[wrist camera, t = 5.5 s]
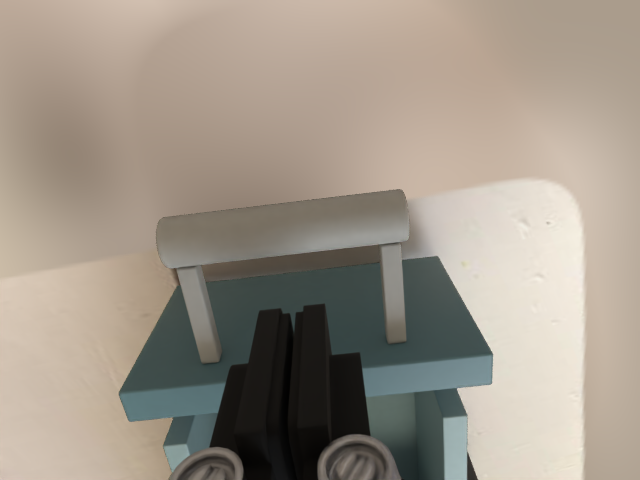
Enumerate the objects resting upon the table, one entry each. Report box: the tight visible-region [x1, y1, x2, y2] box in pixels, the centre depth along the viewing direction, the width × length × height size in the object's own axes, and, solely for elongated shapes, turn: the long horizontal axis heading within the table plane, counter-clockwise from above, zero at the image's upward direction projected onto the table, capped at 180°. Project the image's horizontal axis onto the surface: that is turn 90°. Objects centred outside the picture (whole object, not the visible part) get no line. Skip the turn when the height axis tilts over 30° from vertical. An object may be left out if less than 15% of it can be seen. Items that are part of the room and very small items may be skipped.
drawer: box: [119, 189, 493, 480], centre depth 19 cm, size 18×11×7 cm, turn 7°
